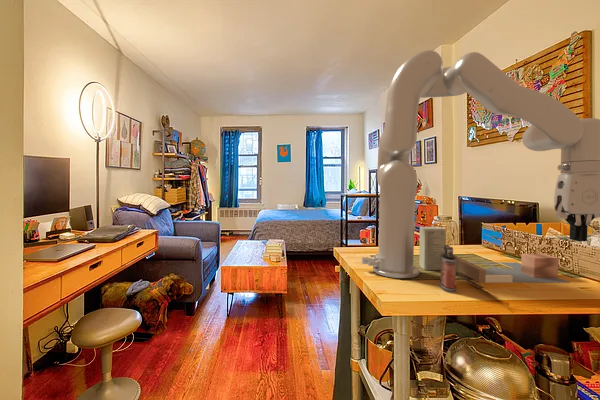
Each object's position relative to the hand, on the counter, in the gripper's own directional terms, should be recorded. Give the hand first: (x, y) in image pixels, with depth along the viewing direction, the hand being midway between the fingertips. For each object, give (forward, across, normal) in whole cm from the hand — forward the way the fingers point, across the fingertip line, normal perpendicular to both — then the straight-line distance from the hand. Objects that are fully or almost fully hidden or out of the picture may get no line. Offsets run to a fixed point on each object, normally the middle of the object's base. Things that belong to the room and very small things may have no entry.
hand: (578, 240), depth 77 cm
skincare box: (+10, -33, +11) cm, 36 cm away
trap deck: (+10, -18, +3) cm, 21 cm away
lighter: (+10, -36, -5) cm, 38 cm away
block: (+9, -10, 0) cm, 13 cm away
